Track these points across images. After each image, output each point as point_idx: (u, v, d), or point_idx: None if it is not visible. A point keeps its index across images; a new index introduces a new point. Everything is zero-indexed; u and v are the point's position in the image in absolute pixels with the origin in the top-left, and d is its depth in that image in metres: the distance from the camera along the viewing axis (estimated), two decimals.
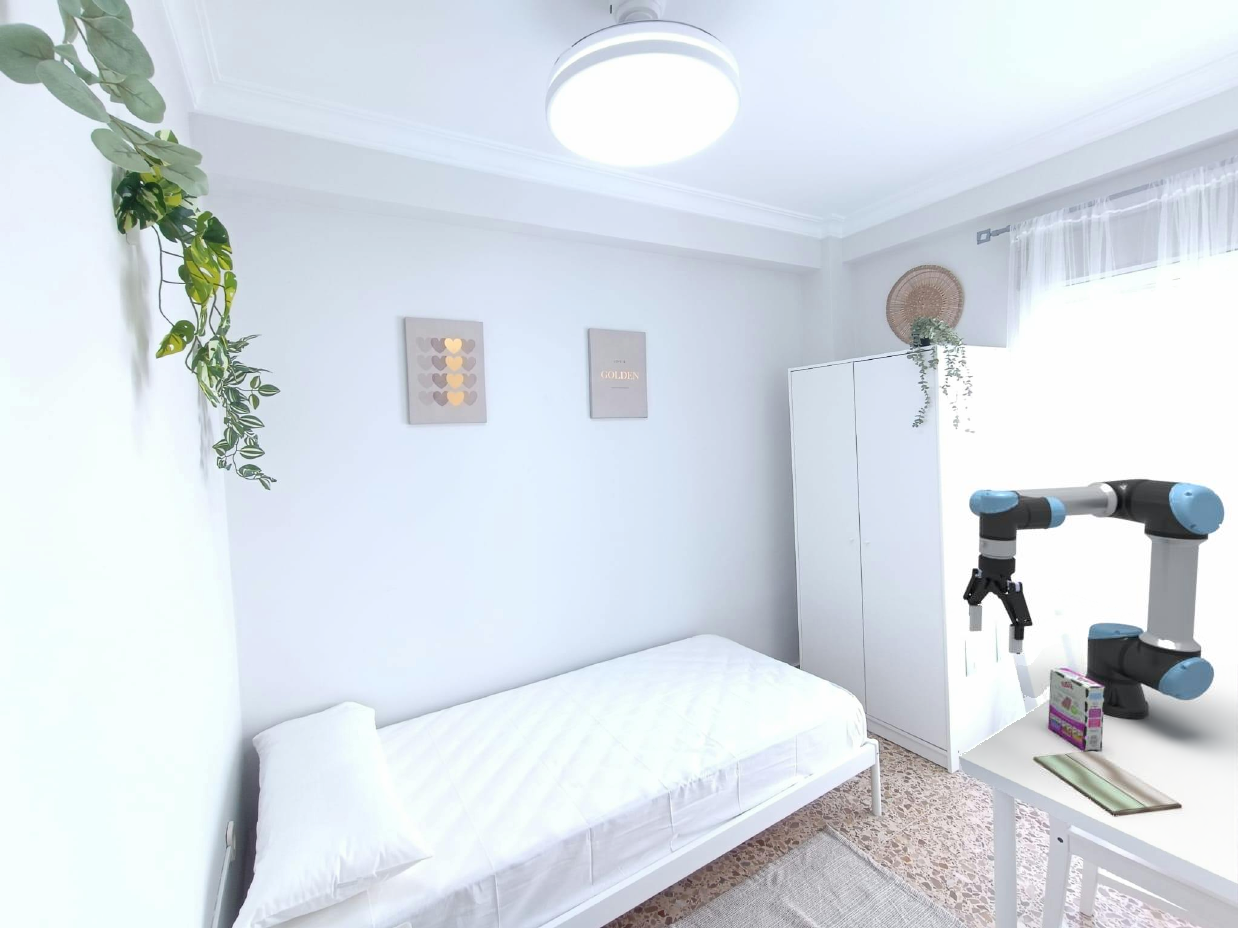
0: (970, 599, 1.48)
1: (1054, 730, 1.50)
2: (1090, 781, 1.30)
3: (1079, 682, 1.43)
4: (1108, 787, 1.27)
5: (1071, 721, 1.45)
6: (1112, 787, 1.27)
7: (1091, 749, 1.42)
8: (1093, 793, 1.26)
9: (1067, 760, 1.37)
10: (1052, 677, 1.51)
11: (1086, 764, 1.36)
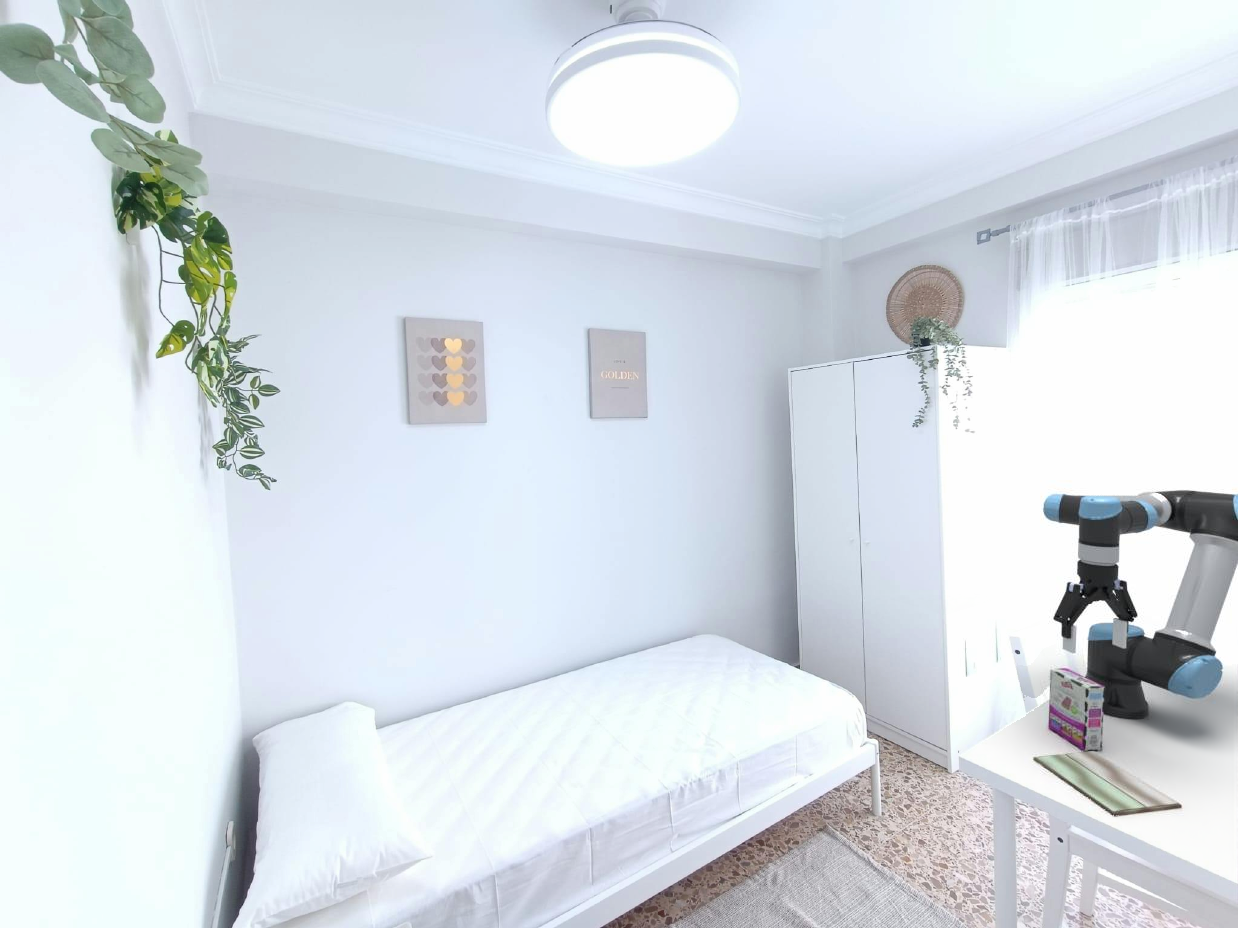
0: None
1: (1054, 730, 1.50)
2: (1090, 781, 1.30)
3: (1079, 682, 1.43)
4: (1108, 787, 1.27)
5: (1071, 721, 1.45)
6: (1112, 787, 1.27)
7: (1091, 749, 1.42)
8: (1093, 793, 1.26)
9: (1067, 760, 1.37)
10: (1052, 677, 1.51)
11: (1086, 764, 1.36)
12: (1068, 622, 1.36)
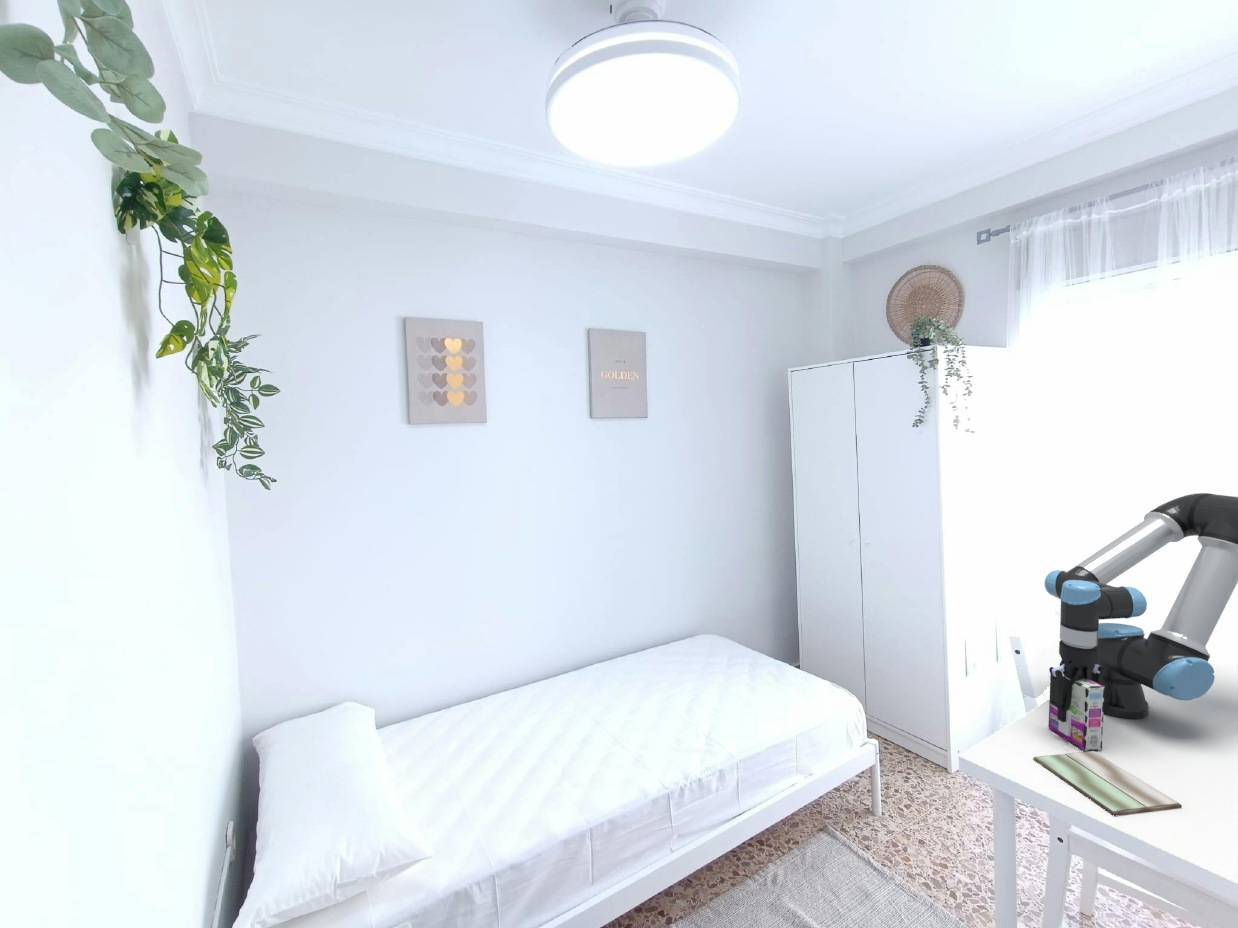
0: None
1: (1054, 730, 1.50)
2: (1090, 781, 1.30)
3: (1079, 682, 1.43)
4: (1108, 787, 1.27)
5: (1071, 721, 1.45)
6: (1112, 787, 1.27)
7: (1091, 749, 1.42)
8: (1093, 793, 1.26)
9: (1067, 760, 1.37)
10: None
11: (1086, 764, 1.36)
12: (1063, 708, 1.45)
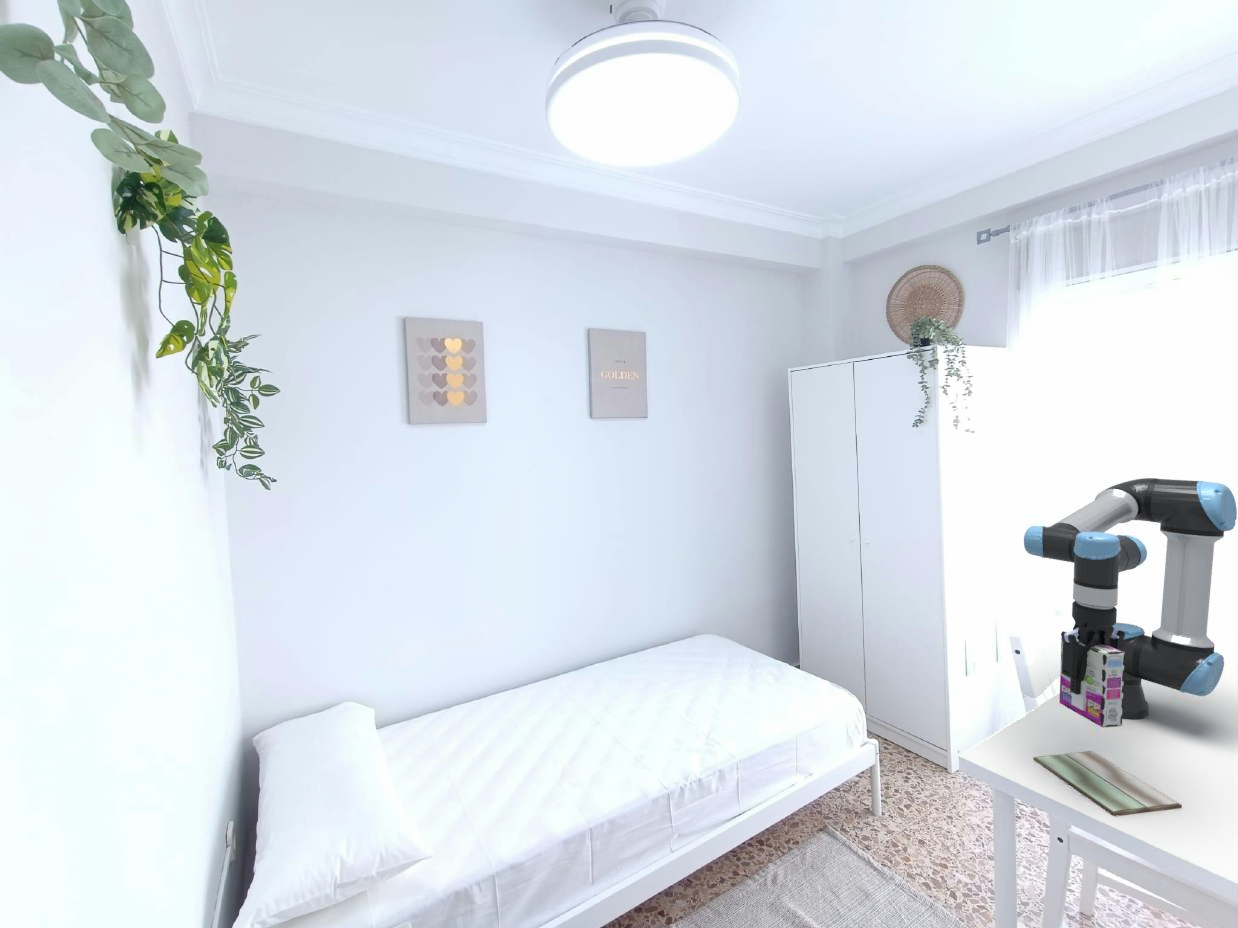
0: None
1: (1067, 704, 1.32)
2: (1090, 781, 1.30)
3: (1095, 648, 1.24)
4: (1108, 787, 1.27)
5: (1086, 693, 1.26)
6: (1112, 787, 1.27)
7: (1110, 724, 1.23)
8: (1093, 793, 1.26)
9: (1067, 760, 1.37)
10: None
11: (1086, 764, 1.36)
12: (1077, 678, 1.27)
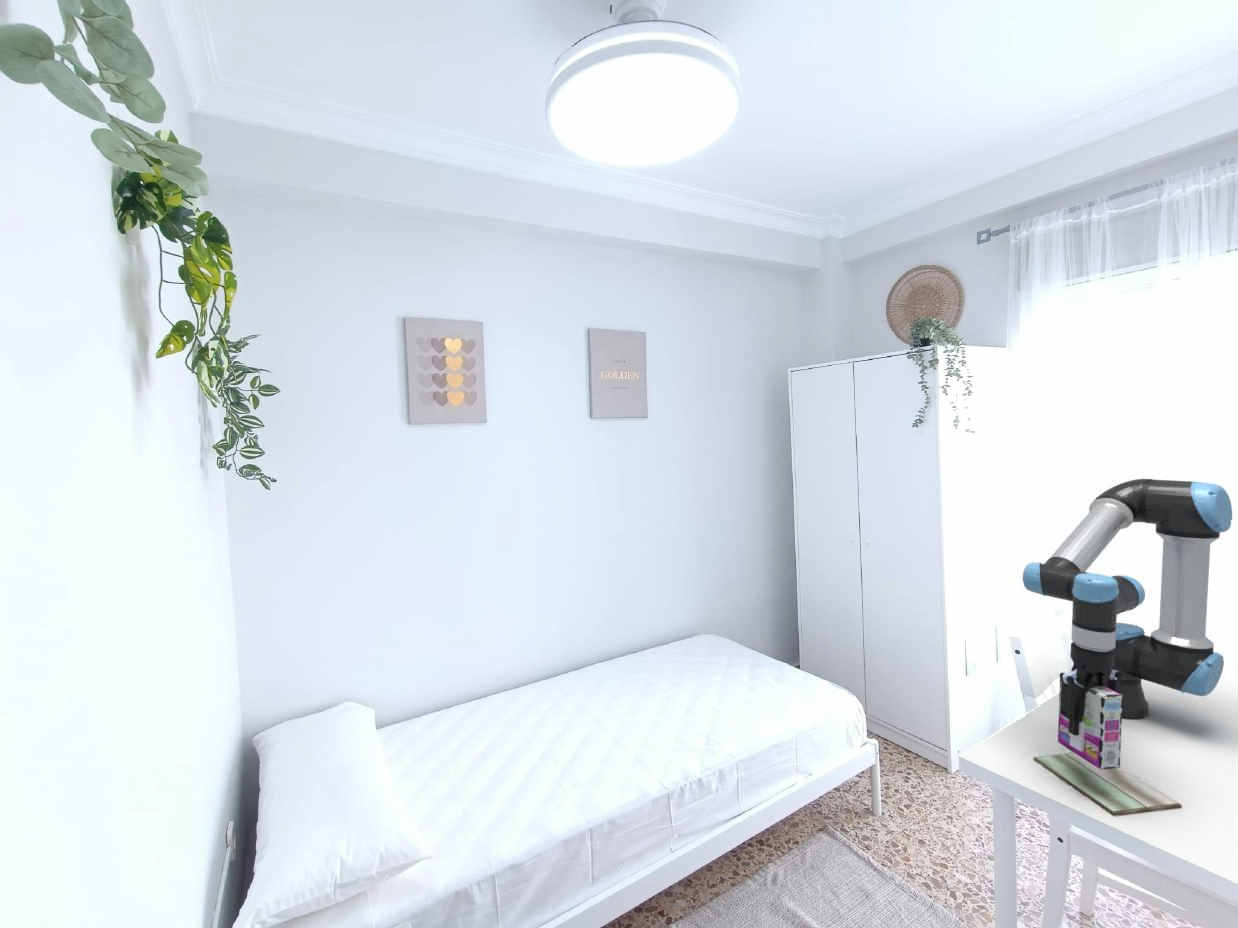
0: None
1: (1065, 744, 1.32)
2: (1090, 781, 1.30)
3: (1093, 690, 1.25)
4: (1108, 787, 1.27)
5: (1085, 735, 1.27)
6: (1112, 787, 1.27)
7: (1108, 767, 1.24)
8: (1093, 793, 1.26)
9: (1067, 760, 1.37)
10: None
11: (1086, 764, 1.36)
12: (1076, 719, 1.27)
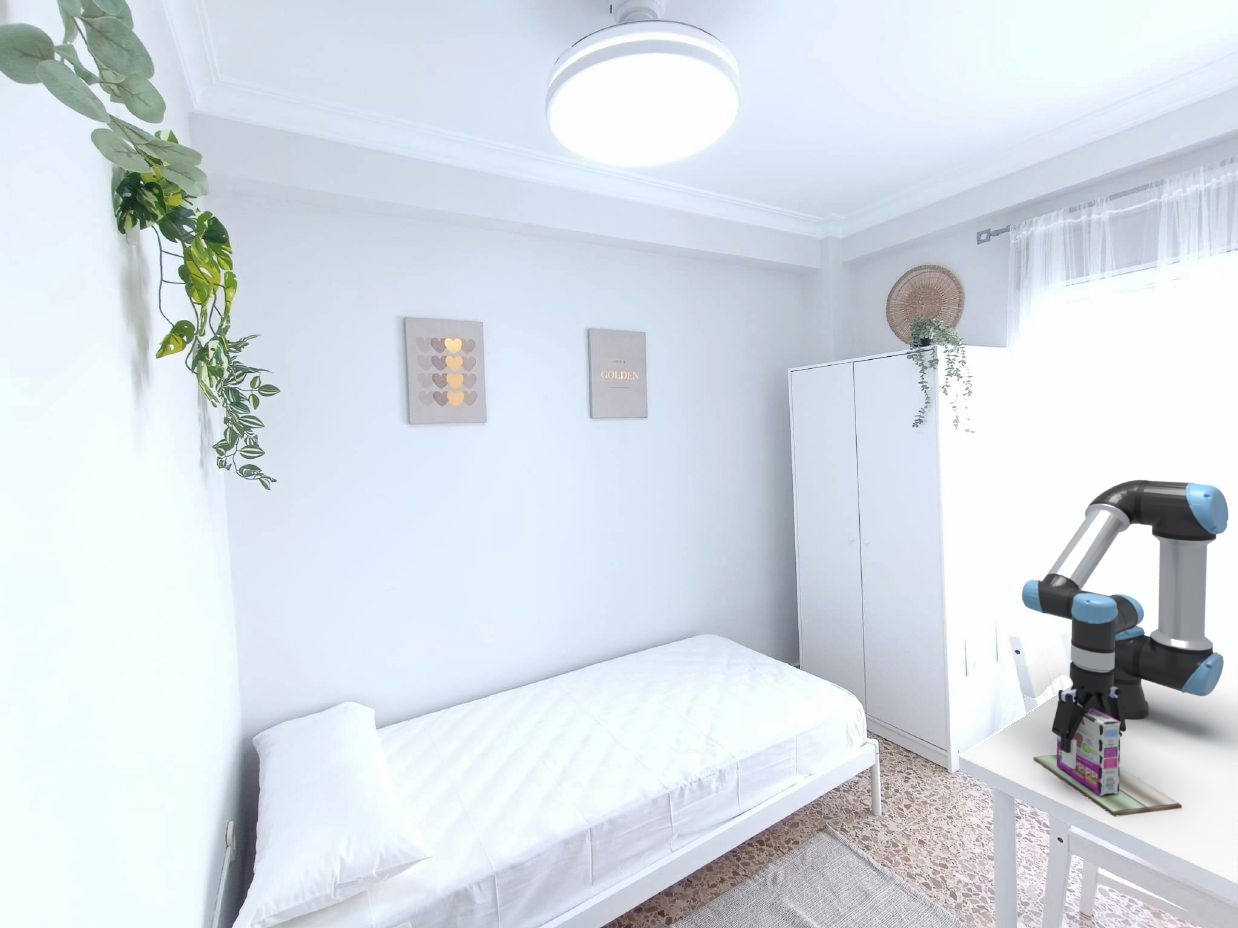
0: None
1: (1064, 769, 1.33)
2: None
3: (1092, 717, 1.26)
4: None
5: (1084, 761, 1.28)
6: None
7: (1107, 793, 1.25)
8: (1093, 793, 1.26)
9: None
10: None
11: None
12: (1067, 736, 1.27)
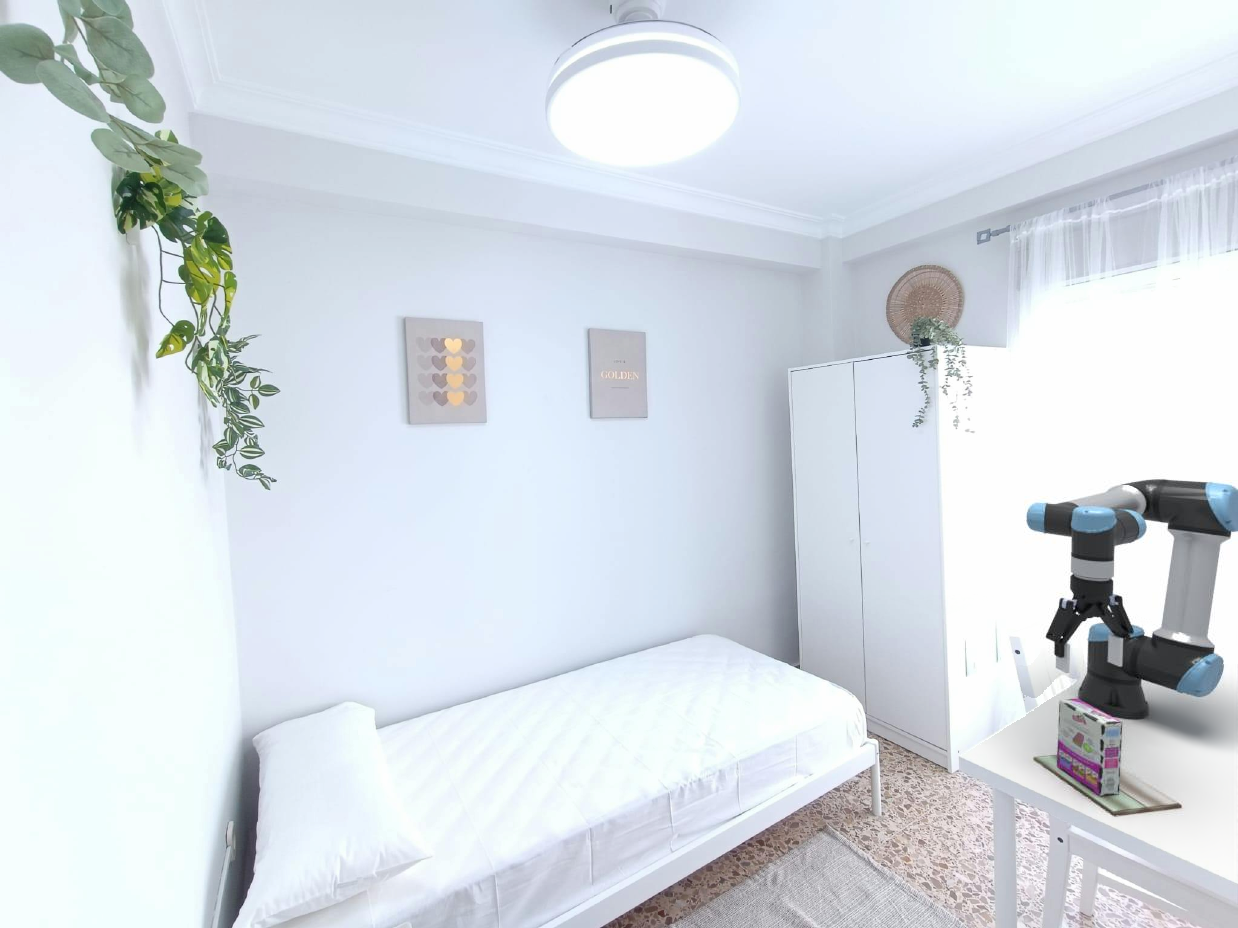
0: None
1: (1064, 769, 1.33)
2: None
3: (1094, 717, 1.26)
4: None
5: (1084, 761, 1.28)
6: None
7: (1107, 793, 1.25)
8: (1093, 793, 1.26)
9: None
10: (1061, 710, 1.33)
11: None
12: (1061, 640, 1.29)
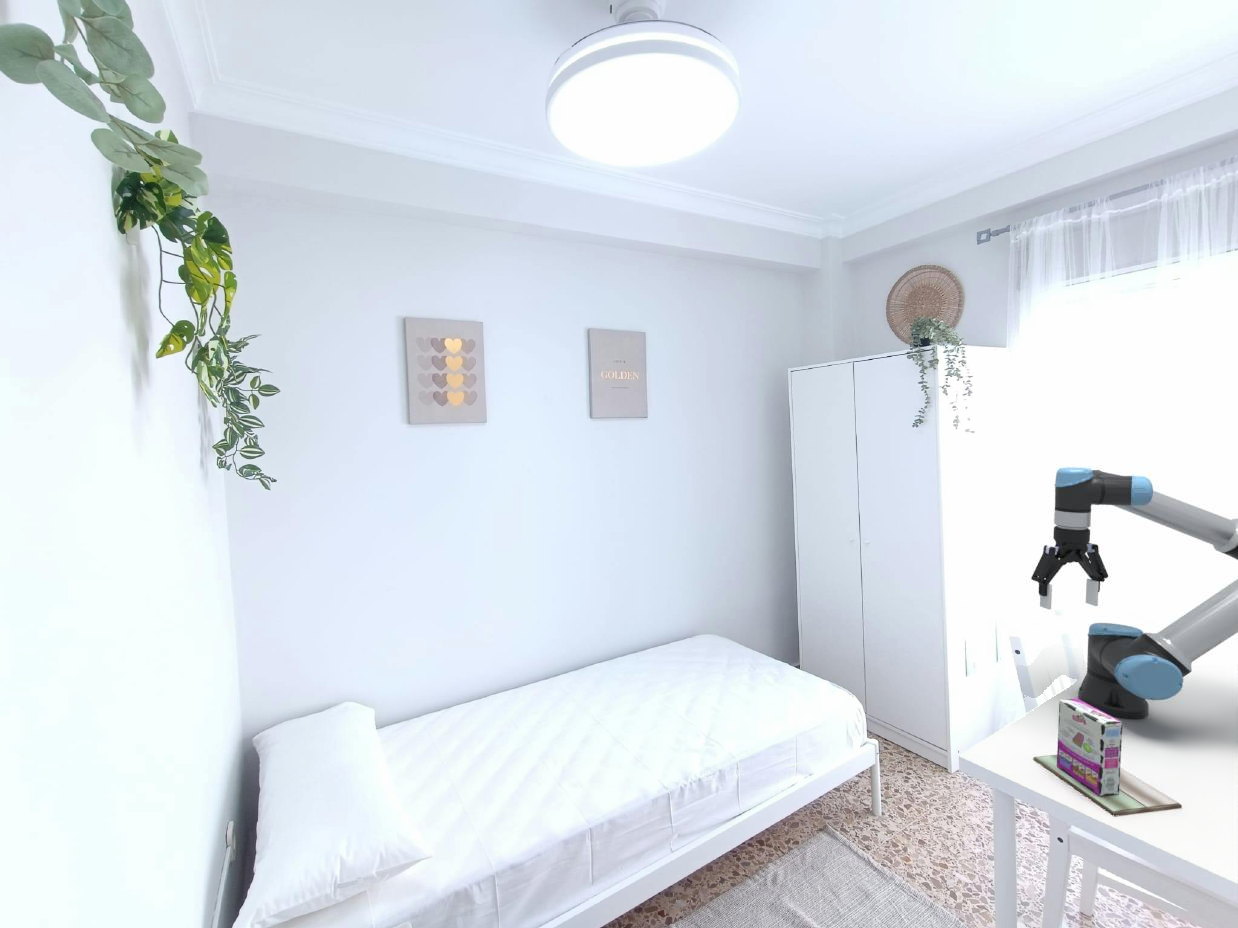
0: None
1: (1064, 769, 1.33)
2: None
3: (1093, 717, 1.26)
4: None
5: (1084, 761, 1.28)
6: None
7: (1107, 793, 1.25)
8: (1093, 793, 1.26)
9: None
10: (1061, 710, 1.33)
11: None
12: (1044, 581, 1.51)
